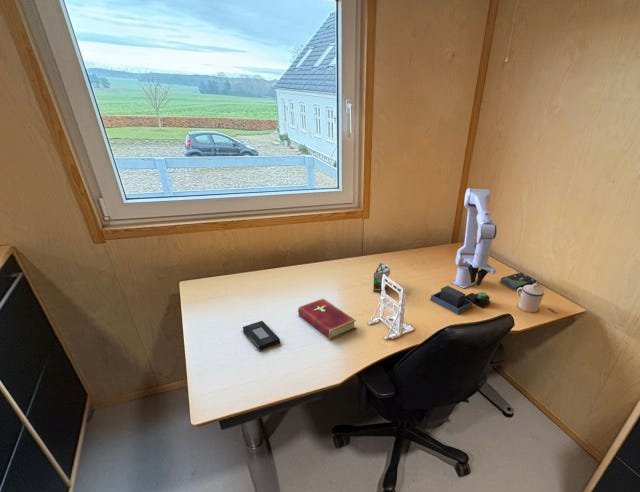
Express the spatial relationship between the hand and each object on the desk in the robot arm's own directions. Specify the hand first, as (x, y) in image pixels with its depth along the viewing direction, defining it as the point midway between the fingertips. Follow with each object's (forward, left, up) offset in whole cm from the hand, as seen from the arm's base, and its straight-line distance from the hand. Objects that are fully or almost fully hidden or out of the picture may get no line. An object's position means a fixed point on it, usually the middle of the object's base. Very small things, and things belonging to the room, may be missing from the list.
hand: (475, 283), depth 153 cm
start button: (-4, +2, -7) cm, 9 cm away
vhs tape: (+82, -33, -11) cm, 89 cm away
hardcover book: (+58, -27, -11) cm, 65 cm away
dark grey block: (+7, -6, -10) cm, 13 cm away
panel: (-4, 0, -10) cm, 11 cm away
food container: (+21, -35, -11) cm, 42 cm away
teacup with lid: (-19, +16, -11) cm, 27 cm away
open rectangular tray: (+7, -6, -10) cm, 14 cm away
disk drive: (-37, +2, -11) cm, 39 cm away
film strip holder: (+40, -9, -11) cm, 42 cm away
